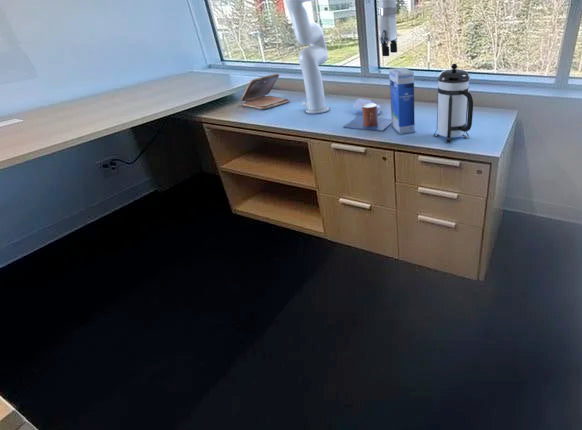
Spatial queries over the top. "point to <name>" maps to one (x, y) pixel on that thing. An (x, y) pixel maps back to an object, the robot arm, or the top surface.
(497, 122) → the top surface
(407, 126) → the string lights box
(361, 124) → the blue rectangular mat
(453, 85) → the coffee press
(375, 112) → the mug
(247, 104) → the case
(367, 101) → the wedge on round base
